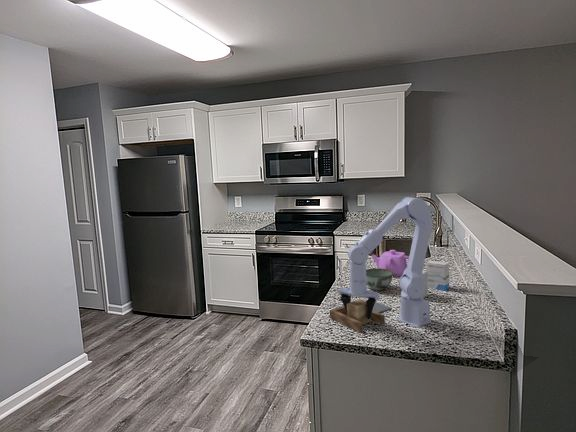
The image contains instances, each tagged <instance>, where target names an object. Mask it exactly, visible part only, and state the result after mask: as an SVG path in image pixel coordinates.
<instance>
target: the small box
mask: <svg viewBox="0 0 576 432" xmlns="http://www.w3.org/2000/svg"><path fill="white" fill-rule="evenodd" d="M422 273H423V276H424V288H425V292H424V295H423V296H422V297H423V299H425V297H426V296H427V295H428V292H429V291H428V290H429V289H428V271H426V270H424V269H423V271H422Z"/></svg>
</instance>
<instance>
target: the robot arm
mask: <svg viewBox="0 0 576 432" xmlns="http://www.w3.org/2000/svg"><path fill="white" fill-rule="evenodd" d="M405 219H406V220H407V219H410V220H411V221H412V222H413V223H414V225H415V228H414V232H413V236H412V242H411V246H410V250H409V255H408V256H409V260H408V259H407V268H406V269H405V270H404V272H403V275H402V276H400V278H399V279H398V287H399V288H400V290H401V293H400V315H399V316H397V317H395V320H398V321H400V322H402V323H405V324H407V325H410V326H412V327H415V328H419V327H422V326H424V325H427V324H429V323H431V322H432V319H431V305H430V302H429V301H428V300H426V299H425V298H423V297H422V296H423V295H424V292H425V288H424V276H423V273H422V271H423V270H424V265H425V260H426V257H427V252H428V247H429V243H430V237H431V233H432V229H433V224H434V221H433V218H432V215H431V212H430V206H429V204H428V203H426V201H425V200H424V199H422V198H418V197H412V196H405V197H404V198H402V199H401V201H399V202H398V203H397V204H395V206H394V207H393V208H392V210H391V211H390V212H389V213H388V214H387V215H386V217H384V219H383V220H382V221H381V222H380V223H379V224H378V226H376V227H375V228H371V229H369V230H366V231H365V232H363V233H364V234H363V236H362V237H361V238H360V239H359V241H355V242H354V244H355V245H352V246H350V248H349V249H348V252H347V256H348V258H349V288H339V289H338V290H337V292H338V293H337V294H338V296H340V297H339V298H340V301H341V303H342V305H343V306H344V307H345V310H346V313H347V303H350V302H352V297H357V298H363V299H364V298H365V299H366V300H365V301H366V304H367V319H370V318H371V314H372V310H373V307H374V304H375V302H376V301H379V300H380V293H379V292H375V291H372V290H371V291H370V290H367V287H368V286H367V284H366V270H367V264H366V262H367V261H368V259H369V255H370V254H371V253H372V252H373V251H374V250H375V249H376V248H377V247H378V246H379V245H380V244H381V243H382V242H383V236H384V234H386V233H387V232H388V231H389V230H390V229H392V227H393V226H394V225H396V224H397V223H398V222H399V221H400V220H405Z"/></svg>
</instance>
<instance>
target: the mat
mask: <svg viewBox="0 0 576 432" xmlns="http://www.w3.org/2000/svg"><path fill="white" fill-rule="evenodd" d="M390 310H392V307H390V306H388V305H385V304H382V303H378V302H375V304H374V307H373V311H375V312H378V313H380V314H382V313H384V312H387V311H390Z"/></svg>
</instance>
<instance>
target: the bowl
mask: <svg viewBox="0 0 576 432" xmlns="http://www.w3.org/2000/svg"><path fill="white" fill-rule="evenodd" d="M393 277H394V276H393V272H392V271H391V270H387V269H381V268H379V267H376V268H369V269H368V268H366V286H367V287H368V288H370V289H371V291H374V292H375V291H376V292H382V291H385V290H386V288H388V287H389V286H390V285H391V284H392V282H393Z"/></svg>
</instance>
